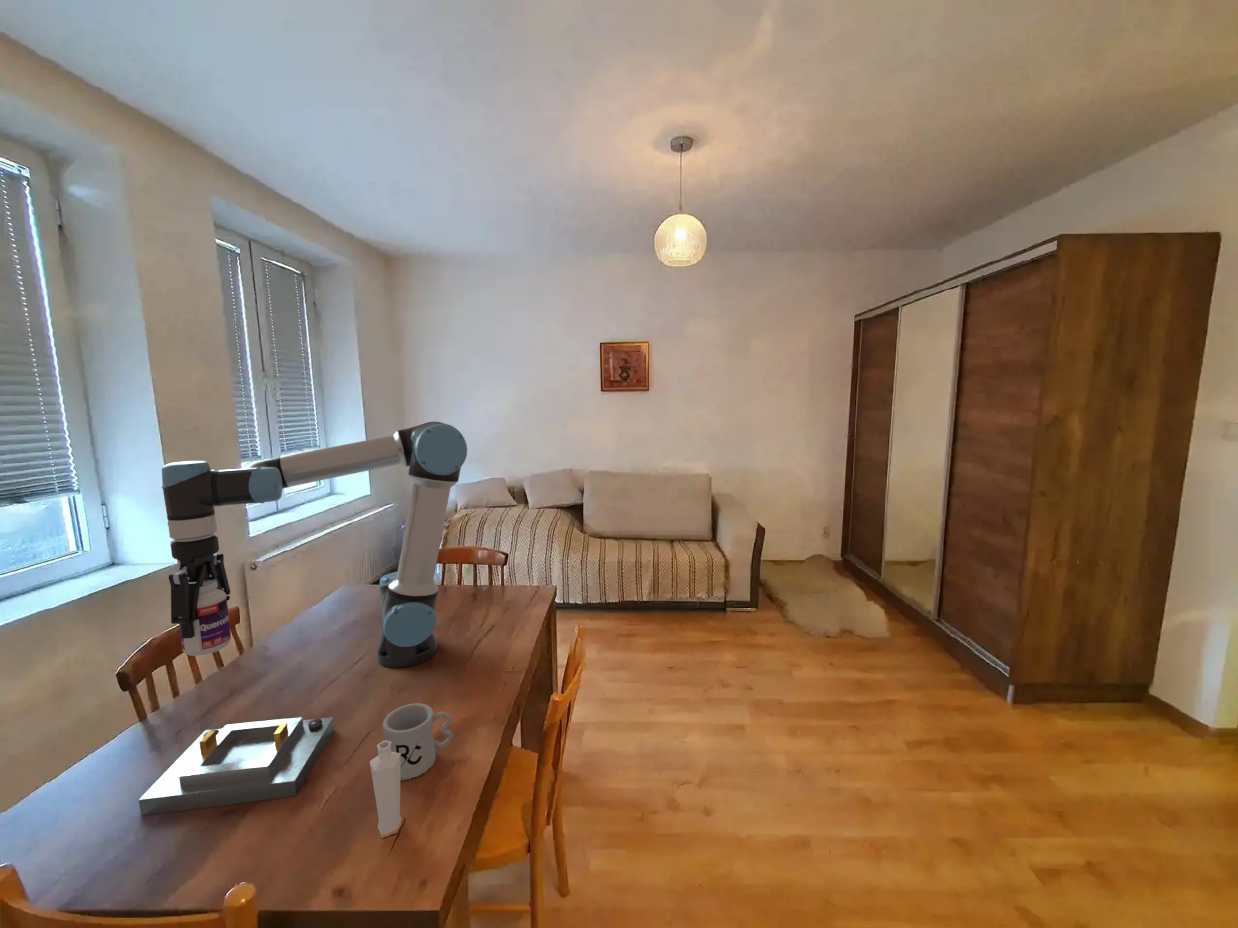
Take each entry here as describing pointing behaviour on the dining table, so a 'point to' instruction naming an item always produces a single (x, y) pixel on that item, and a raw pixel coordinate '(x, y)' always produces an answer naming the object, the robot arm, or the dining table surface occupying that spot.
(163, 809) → the grey clamping fixture
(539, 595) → the dining table surface
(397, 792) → the perfume bottle
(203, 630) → the pill bottle
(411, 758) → the mug
